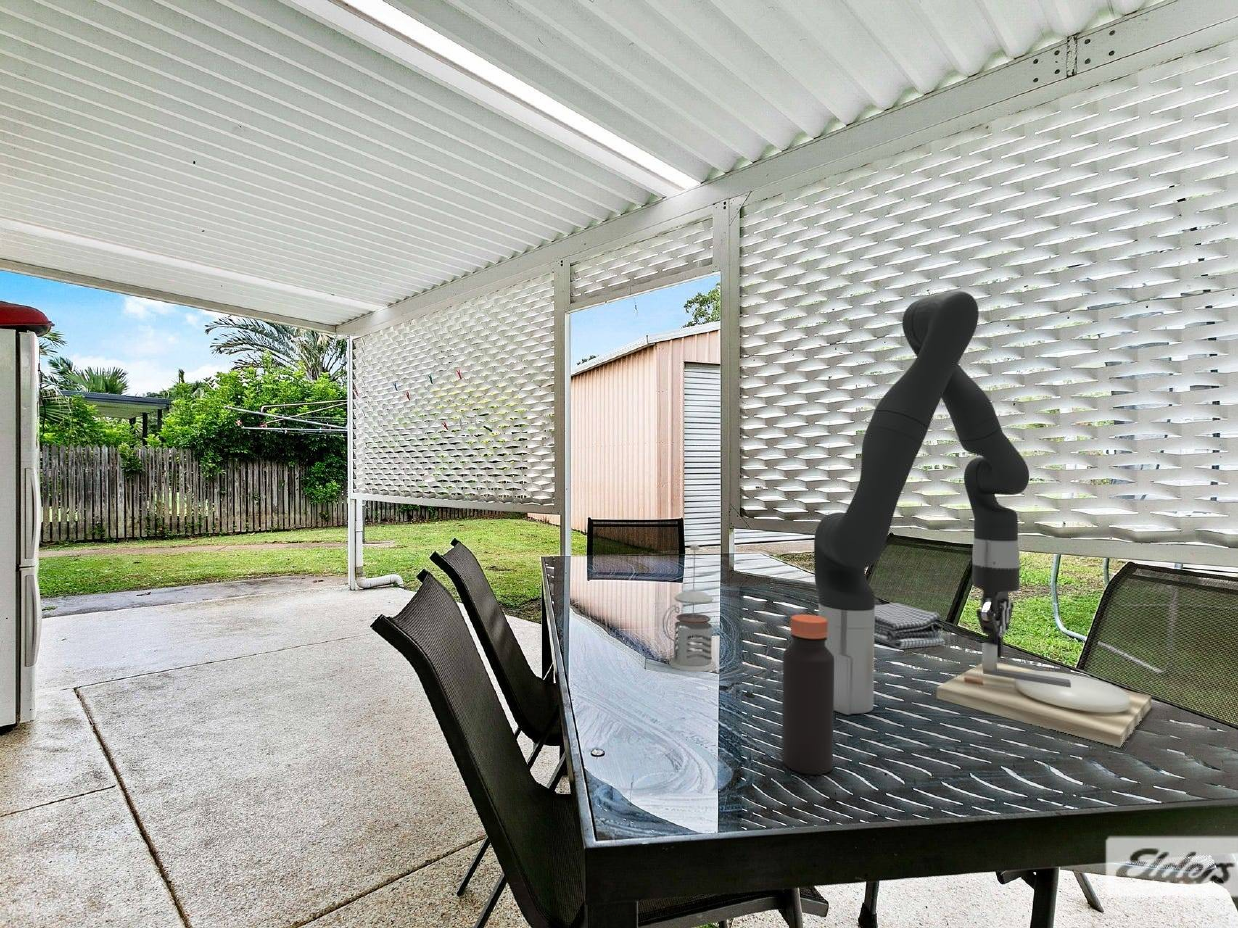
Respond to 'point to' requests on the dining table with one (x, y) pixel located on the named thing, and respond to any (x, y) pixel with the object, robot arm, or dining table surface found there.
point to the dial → (1060, 687)
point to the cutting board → (1041, 706)
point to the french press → (692, 632)
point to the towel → (906, 626)
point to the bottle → (808, 698)
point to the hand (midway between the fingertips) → (995, 655)
